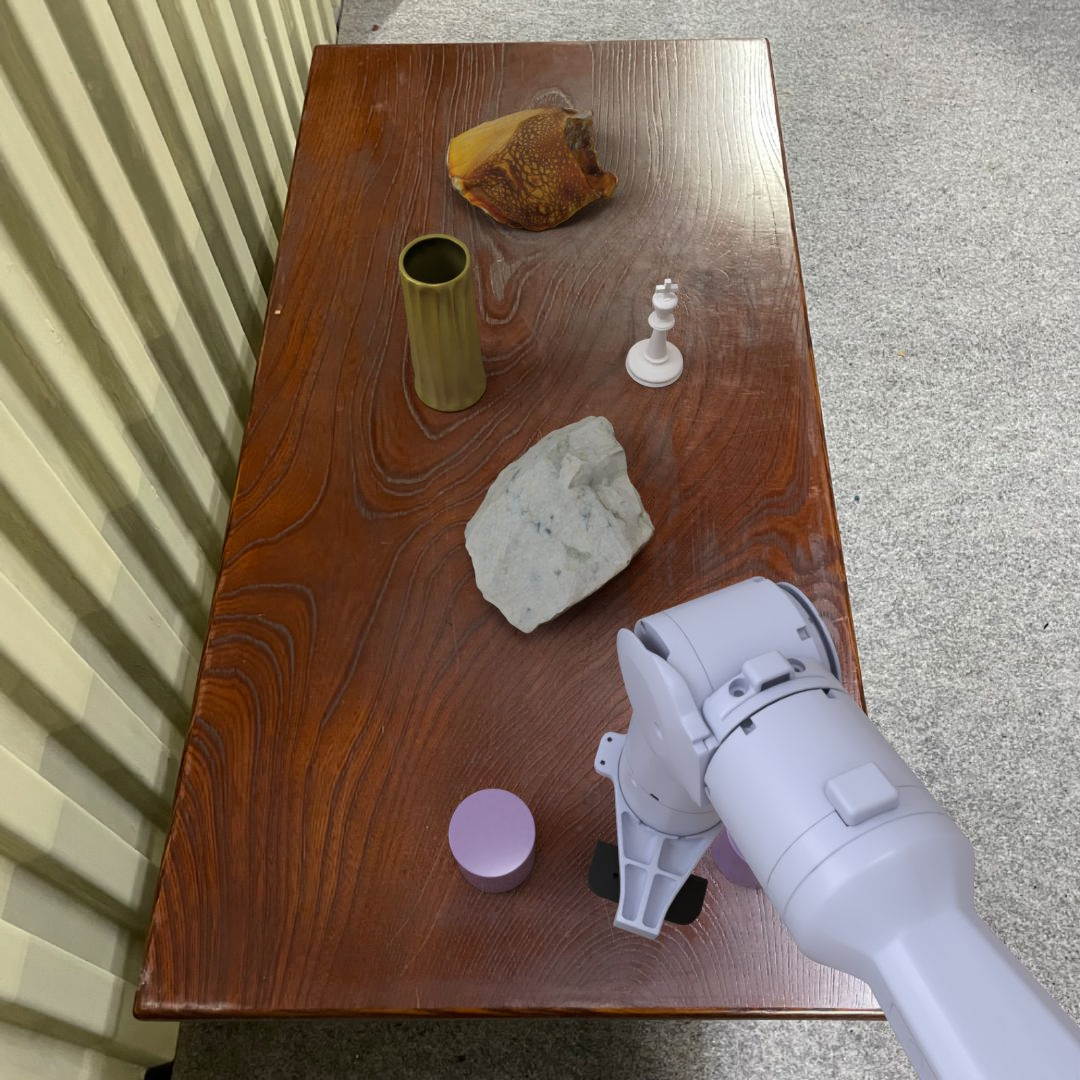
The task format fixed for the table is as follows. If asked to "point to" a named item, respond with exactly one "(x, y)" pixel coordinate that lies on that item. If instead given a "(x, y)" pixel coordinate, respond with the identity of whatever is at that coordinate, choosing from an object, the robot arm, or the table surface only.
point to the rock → (557, 525)
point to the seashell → (530, 166)
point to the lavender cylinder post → (493, 840)
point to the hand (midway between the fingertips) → (657, 817)
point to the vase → (442, 322)
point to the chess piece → (657, 344)
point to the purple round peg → (732, 861)
